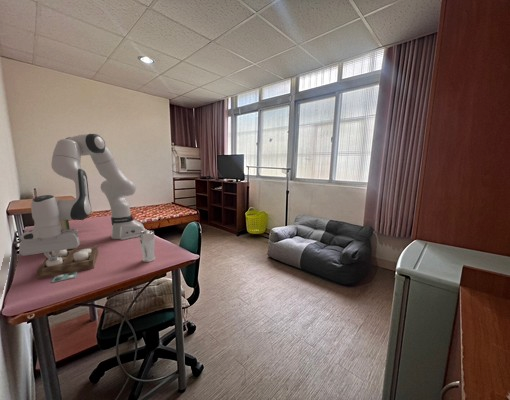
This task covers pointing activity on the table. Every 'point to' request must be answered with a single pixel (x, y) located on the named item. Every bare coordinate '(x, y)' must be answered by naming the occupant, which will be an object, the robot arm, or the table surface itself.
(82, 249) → the button
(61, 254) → the button
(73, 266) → the wooden compartment tray
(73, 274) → the card
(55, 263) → the button
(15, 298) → the table surface
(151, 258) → the beer glass
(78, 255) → the button
